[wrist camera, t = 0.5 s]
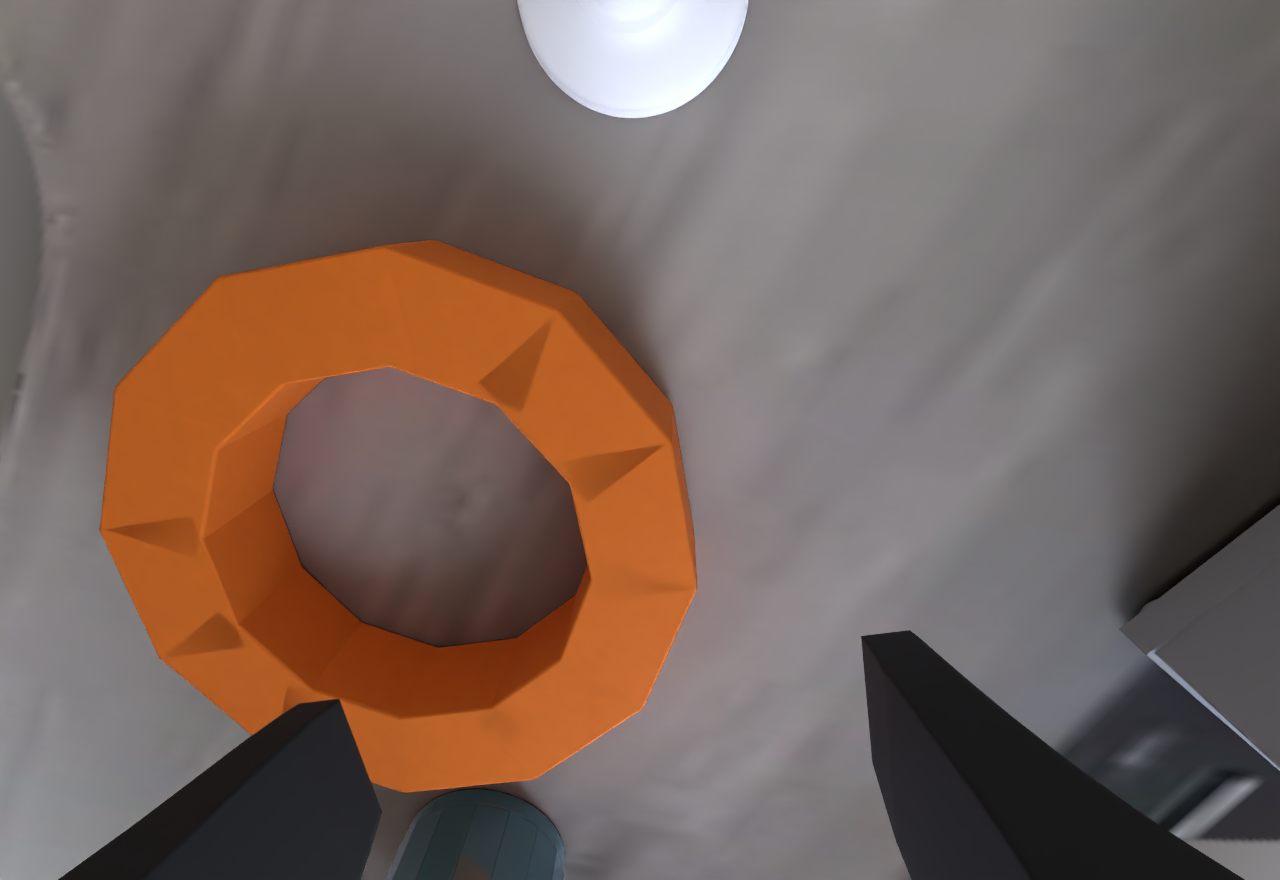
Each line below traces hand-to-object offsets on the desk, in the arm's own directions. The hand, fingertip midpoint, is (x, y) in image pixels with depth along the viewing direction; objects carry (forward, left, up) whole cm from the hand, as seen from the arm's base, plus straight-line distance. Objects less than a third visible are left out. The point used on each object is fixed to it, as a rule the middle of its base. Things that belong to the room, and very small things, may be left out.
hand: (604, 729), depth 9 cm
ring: (-4, +4, -9) cm, 11 cm away
